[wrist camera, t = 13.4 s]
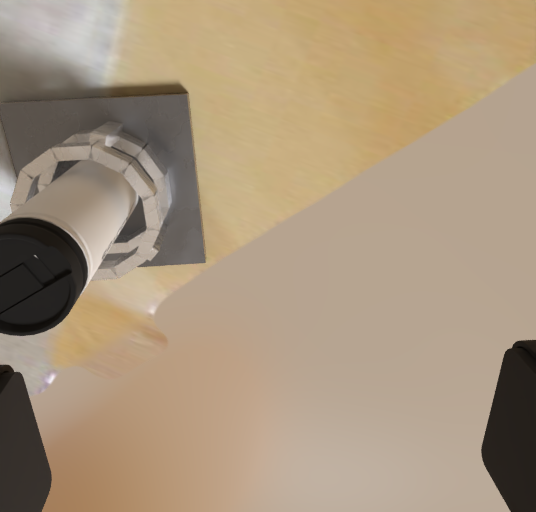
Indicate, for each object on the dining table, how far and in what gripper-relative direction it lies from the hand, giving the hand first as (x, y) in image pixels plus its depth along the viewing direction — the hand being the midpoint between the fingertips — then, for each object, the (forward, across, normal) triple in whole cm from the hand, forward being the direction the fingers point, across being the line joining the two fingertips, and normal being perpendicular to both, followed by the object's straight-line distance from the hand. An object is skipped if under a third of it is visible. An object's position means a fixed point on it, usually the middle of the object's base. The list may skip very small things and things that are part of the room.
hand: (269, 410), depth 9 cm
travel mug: (+36, +13, +6) cm, 39 cm away
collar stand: (+37, +13, +6) cm, 40 cm away
